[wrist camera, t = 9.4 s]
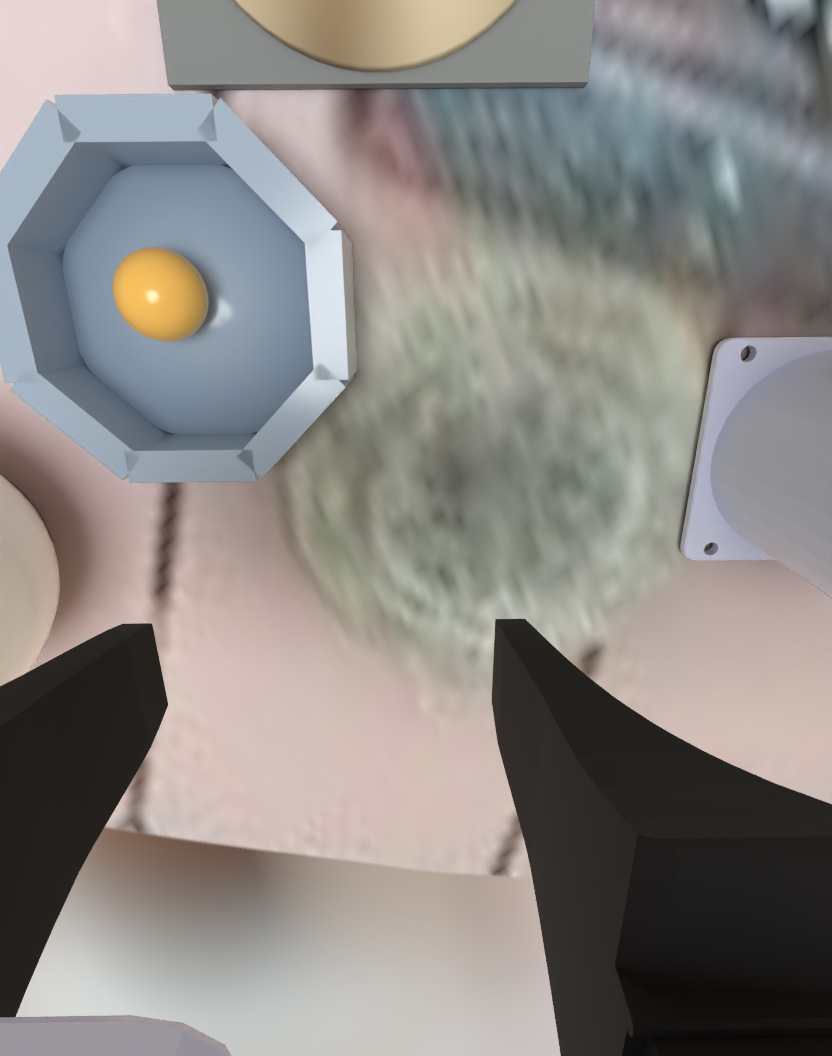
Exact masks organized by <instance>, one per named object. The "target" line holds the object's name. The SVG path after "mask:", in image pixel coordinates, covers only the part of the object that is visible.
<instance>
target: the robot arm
mask: <svg viewBox="0 0 832 1056" xmlns="http://www.w3.org/2000/svg"><path fill="white" fill-rule="evenodd" d="M746 346H748V347H749V349H750V354H749V356H748V358H746V359H745V360H742V359H741V355H740V354H741V351H742V349H744V348H745V347H746ZM711 542H713V546H712V548H711V549H709V550H708V551H704V548H705V546H706V545H707V544H708V543H711ZM680 549H681V552H682V554H683V555H684V556H685V557H687V558H688V559H690V560H694V561H709V560H777V561H778V562H780V563H781V564H783V565H784V566H786V567H787V568H788V569H790V570H791V571H793V572H794V573H796V574H797V575H799V576H800V577H802V578H803V579H805V580H806V581H808V582H809V583H811V584H812V585H814V586H815V587H817V588H818V589H819V590H821V591H822V592H824V593H825V594H827V595H828V596H830V597H831V598H832V337H741V338H726V339H724V340H722V341H721V342H719V343H718V345H717V346H716V347H715V350H714V352H713V357H712V363H711V369H710V375H709V381H708V386H707V392H706V398H705V404H704V410H703V416H702V422H701V427H700V433H699V439H698V445H697V451H696V457H695V463H694V469H693V474H692V480H691V486H690V492H689V498H688V504H687V510H686V515H685V521H684V527H683V533H682V539H681V545H680ZM492 705H493V713H494V720H495V727H496V734H497V740H498V745H499V749H500V753H501V757H502V760H503V764H504V768H505V771H506V775H507V779H508V782H509V786H510V790H511V793H512V797H513V801H514V804H515V808H516V811H517V815H518V819H519V822H520V826H521V830H522V833H523V837H524V841H525V845H526V849H527V853H528V858H529V862H530V866H531V872H532V878H533V884H534V889H535V895H536V900H537V907H538V912H539V918H540V924H541V930H542V937H543V943H544V949H545V955H546V961H547V967H548V974H549V980H550V985H551V993H552V999H553V1005H554V1013H555V1019H556V1026H557V1033H558V1039H559V1046H560V1053H561V1056H832V804H829V803H826V802H824V801H821V800H818V799H816V798H813V797H810V796H807V795H805V794H802V793H799V792H796V791H794V790H791V789H788V788H786V787H783V786H780V785H777V784H775V783H772V782H770V781H768V780H765V779H763V778H761V777H758V776H756V775H754V774H752V773H749V772H747V771H745V770H742V769H740V768H738V767H736V766H733V765H731V764H729V763H727V762H725V761H723V760H721V759H719V758H716V757H714V756H712V755H710V754H708V753H706V752H704V751H702V750H700V749H698V748H697V747H695V746H693V745H691V744H689V743H687V742H685V741H684V740H682V739H680V738H678V737H676V736H674V735H672V734H671V733H669V732H667V731H666V730H664V729H662V728H660V727H659V726H657V725H655V724H654V723H652V722H651V721H649V720H647V719H646V718H644V717H643V716H641V715H640V714H638V713H637V712H635V711H634V710H632V709H630V708H629V707H627V706H626V705H624V704H623V703H622V702H620V701H619V700H617V699H616V698H615V697H613V696H612V695H611V694H609V693H608V692H607V691H605V690H604V689H603V688H602V687H600V686H599V685H598V684H596V683H595V682H594V681H592V680H591V679H590V678H589V677H588V676H586V675H585V674H584V673H583V672H582V671H580V670H579V669H578V668H577V667H576V666H574V665H573V664H572V663H571V662H570V661H569V660H568V659H567V658H565V657H564V656H563V655H562V654H561V653H560V652H559V651H558V650H557V649H556V648H555V647H554V646H552V645H551V644H550V643H549V642H548V641H547V640H546V639H545V638H544V637H543V636H542V635H541V634H540V633H539V632H538V631H537V630H536V629H535V628H534V627H533V626H532V625H531V624H530V623H529V622H527V621H526V620H525V619H496V621H495V643H494V664H493V685H492ZM167 706H168V702H167V697H166V692H165V686H164V681H163V676H162V671H161V666H160V661H159V656H158V651H157V646H156V641H155V636H154V631H153V626H152V624H121V625H119V626H116V627H114V628H112V629H109V630H107V631H105V632H103V633H101V634H99V635H97V636H95V637H93V638H91V639H89V640H87V641H85V642H84V643H82V644H80V645H78V646H76V647H74V648H72V649H70V650H69V651H67V652H65V653H63V654H61V655H59V656H57V657H56V658H54V659H52V660H50V661H48V662H46V663H44V664H42V665H41V666H39V667H37V668H35V669H33V670H31V671H29V672H27V673H26V674H24V675H22V676H20V677H18V678H16V679H14V680H12V681H10V682H8V683H6V684H4V685H2V686H0V1056H232V1055H231V1054H230V1052H229V1050H228V1049H227V1047H226V1046H225V1045H224V1044H222V1043H220V1042H219V1041H217V1040H215V1039H213V1038H211V1037H209V1036H207V1035H205V1034H203V1033H201V1032H200V1031H198V1030H196V1029H194V1028H192V1027H190V1026H188V1025H186V1024H184V1023H180V1022H173V1021H166V1020H158V1019H152V1018H145V1017H138V1016H131V1015H126V1016H125V1015H124V1016H66V1017H63V1016H62V1017H16V1014H17V1012H18V1009H19V1007H20V1004H21V1002H22V999H23V996H24V994H25V992H26V989H27V987H28V984H29V982H30V980H31V977H32V975H33V973H34V970H35V968H36V966H37V963H38V961H39V959H40V956H41V954H42V952H43V950H44V947H45V945H46V943H47V940H48V938H49V936H50V934H51V931H52V929H53V927H54V924H55V922H56V920H57V918H58V916H59V914H60V912H61V909H62V907H63V905H64V903H65V901H66V899H67V897H68V894H69V892H70V890H71V888H72V886H73V884H74V881H75V879H76V877H77V875H78V873H79V871H80V869H81V867H82V866H83V864H84V862H85V860H86V858H87V856H88V854H89V852H90V851H91V849H92V847H93V845H94V844H95V842H96V840H97V839H98V837H99V835H100V833H101V832H102V830H103V828H104V827H105V825H106V823H107V822H108V820H109V818H110V817H111V815H112V813H113V811H114V810H115V808H116V806H117V805H118V803H119V801H120V800H121V798H122V796H123V795H124V793H125V791H126V789H127V788H128V786H129V784H130V783H131V781H132V779H133V777H134V776H135V774H136V772H137V771H138V769H139V767H140V765H141V764H142V762H143V760H144V758H145V757H146V755H147V753H148V751H149V749H150V748H151V745H152V743H153V741H154V738H155V736H156V734H157V731H158V729H159V727H160V724H161V721H162V719H163V716H164V714H165V711H166V709H167Z"/></svg>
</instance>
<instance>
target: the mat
mask: <svg viewBox="0 0 832 1056" xmlns="http://www.w3.org/2000/svg"><path fill="white" fill-rule="evenodd" d="M157 6H158V14H159V21H160V28H161V36H162V43H163V50H164V58H165V65H166V73H167V80H168V85H169V86H170V87H171V88H172V89H173V90H242V89H386V88H529V87H585V86H586V84H587V83H588V79H589V67H590V55H591V43H592V30H593V18H594V6H595V0H517V1H516V2H515V4H514V5H513V6H512V7H511V8H510V10H509V11H508V12H507V13H506V14H505V15H504V16H503V17H502V18H501V19H499V20H498V21H497V22H496V23H495V24H494V25H493V26H492V27H491V28H490V29H489V30H488V31H487V32H485V33H484V34H482V35H481V36H480V37H478V38H477V39H475V40H474V41H473V42H471V43H470V44H468V45H467V46H466V47H464V48H462V49H460V50H458V51H456V52H455V53H453V54H451V55H449V56H447V57H445V58H443V59H441V60H438V61H435V62H432V63H429V64H426V65H423V66H420V67H417V68H413V69H407V70H401V71H395V72H359V71H353V70H346V69H340V68H337V67H334V66H330V65H327V64H324V63H321V62H318V61H315V60H313V59H311V58H309V57H307V56H304V55H302V54H300V53H298V52H296V51H294V50H292V49H290V48H289V47H287V46H286V45H284V44H283V43H281V42H280V41H278V40H277V39H275V38H274V37H272V36H271V35H269V34H268V33H267V32H265V31H264V30H263V29H262V28H261V27H260V26H259V25H257V24H256V23H255V22H254V21H253V20H252V19H251V18H249V17H248V16H247V15H246V14H245V13H244V12H243V11H242V10H241V9H240V7H239V6H238V5H237V4H236V3H235V2H234V1H233V0H157Z"/></svg>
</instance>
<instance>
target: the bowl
mask: <svg viewBox="0 0 832 1056" xmlns="http://www.w3.org/2000/svg"><path fill="white" fill-rule="evenodd" d="M54 96H55V102H56V104H54V103H52V102H51V101H49V100H47V99H46V101H45V103H44V104H43V106H42V107H41V109H40V110H39V112H38V114H37V115H36V117H35V118H34V120H33V122H32V123H31V125H30V126H29V128H28V130H27V131H26V133H25V134H24V136H23V137H22V139H21V141H20V142H19V144H18V145H17V147H16V149H15V150H14V152H13V153H12V155H11V156H10V158H9V160H8V161H7V163H6V164H5V166H4V168H3V169H2V171H1V172H0V364H1V368H2V372H3V376H4V379H5V383H15V384H14V386H13V387H12V389H11V390H10V391H12V392H13V393H14V394H15V395H17V396H18V397H19V398H20V399H22V400H23V401H24V402H25V403H27V404H28V405H29V406H30V407H32V408H33V409H34V410H36V411H37V412H38V413H39V414H41V415H42V416H43V417H44V418H46V419H47V420H48V421H49V422H51V423H52V424H53V425H54V426H56V427H57V428H58V429H59V430H61V431H62V432H63V433H64V434H66V435H67V436H68V437H69V438H71V439H72V440H73V441H74V442H76V443H77V444H78V445H79V446H81V447H82V448H83V449H84V450H86V451H87V452H88V453H89V454H91V455H92V456H93V457H94V458H96V459H97V460H98V461H99V462H101V463H102V464H103V465H104V466H106V467H107V468H108V469H109V470H111V471H112V472H113V473H114V474H116V475H117V476H118V477H120V478H121V479H122V480H124V479H126V478H127V477H129V480H130V483H151V482H243V481H256V480H257V479H258V478H259V477H261V478H263V477H264V476H265V475H266V474H267V473H268V471H269V470H270V469H271V468H272V467H273V466H274V465H275V464H276V463H277V462H278V461H279V459H280V458H281V457H282V456H283V455H284V454H285V453H286V452H287V451H288V450H289V449H290V448H291V446H292V445H293V444H294V443H295V442H296V441H297V440H298V439H299V438H300V437H301V436H302V434H303V433H304V432H305V431H306V430H307V429H308V428H309V427H310V426H311V425H312V424H313V422H314V421H315V420H316V419H317V418H318V417H319V416H320V415H321V414H322V413H323V412H324V410H325V409H326V408H327V407H328V406H329V405H330V404H331V403H332V402H333V401H334V400H335V398H336V397H337V396H338V395H339V394H340V393H341V392H342V391H343V390H344V389H345V388H346V386H347V385H348V384H349V383H350V382H351V381H352V379H353V378H354V377H355V376H354V375H353V374H354V373H355V372H356V371H357V348H356V325H355V302H354V279H353V256H352V243H351V241H350V240H349V239H348V236H349V235H348V234H347V233H346V232H345V230H344V229H343V228H342V227H341V225H340V224H339V223H338V222H337V221H336V220H335V218H334V217H333V216H332V215H331V214H330V213H329V212H328V211H327V210H326V209H325V208H324V207H323V206H322V205H321V204H320V203H319V202H318V201H317V199H316V198H315V197H314V196H313V195H312V194H311V193H310V192H309V191H308V190H307V189H306V188H305V187H304V186H303V185H302V184H301V183H300V181H299V180H298V179H297V178H296V177H295V176H294V175H293V174H292V173H291V172H290V171H289V170H288V169H287V168H286V167H285V166H284V165H283V164H282V162H281V161H280V160H279V159H278V158H277V157H276V156H275V155H274V154H273V153H272V152H271V151H270V150H269V149H268V148H267V147H266V146H265V145H264V143H263V142H262V141H261V140H260V139H259V138H258V137H257V136H256V135H255V134H254V133H253V132H252V131H251V130H250V129H249V128H248V127H247V125H246V124H245V123H244V122H243V121H242V120H241V119H240V118H239V117H238V116H237V115H236V114H235V113H234V112H233V111H232V110H231V109H230V108H229V106H228V105H227V104H226V103H225V102H224V101H223V100H222V99H221V98H220V99H219V100H217V99H216V98H215V97H214V96H213V95H212V94H109V95H54Z"/></svg>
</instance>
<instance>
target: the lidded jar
mask: <svg viewBox="0 0 832 1056" xmlns="http://www.w3.org/2000/svg"><path fill="white" fill-rule="evenodd" d="M59 591H60V580H59V568H58V561H57V557H56V553H55V549H54V545H53V543H52V541H51V538H50V536H49V534H48V531H47V529H46V527H45V525H44V522H43V520H42V518H41V517H40V515H39V514H38V512H37V510H36V509H35V507H34V506H33V505H32V504H31V503H30V501H29V500H28V499H27V498H26V497H25V496H24V495H23V494H22V493H21V492H20V491H19V490H18V489H17V488H16V487H14V486H13V485H12V484H11V483H10V482H9V481H8V480H7V479H5V478H4V477H3V476H1V475H0V686H2V685H4V684H6V683H8V682H10V681H12V680H14V679H16V678H18V677H20V676H22V675H24V674H26V673H27V672H29V671H30V669H31V667H32V665H33V664H34V662H35V660H36V659H37V657H38V655H39V653H40V652H41V650H42V648H43V646H44V644H45V643H46V641H47V639H48V637H49V634H50V631H51V628H52V625H53V621H54V618H55V615H56V611H57V608H58V602H59Z"/></svg>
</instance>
